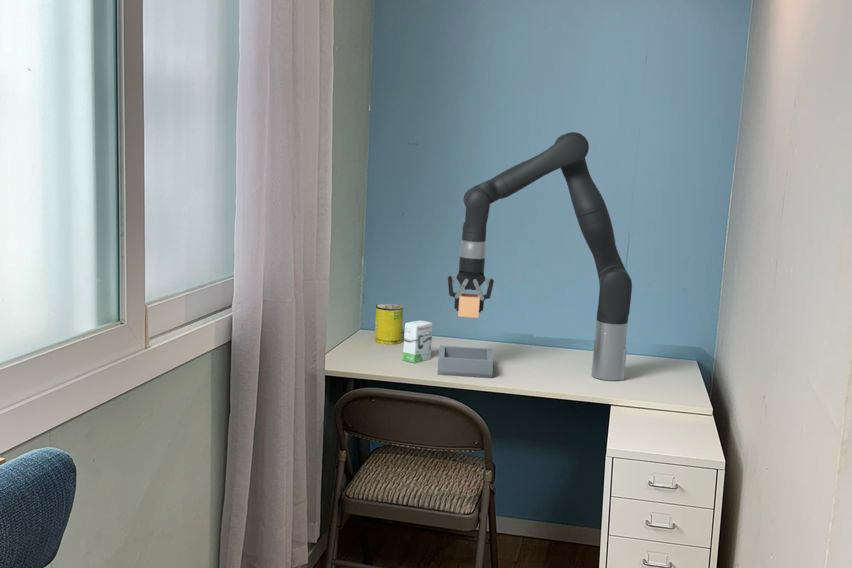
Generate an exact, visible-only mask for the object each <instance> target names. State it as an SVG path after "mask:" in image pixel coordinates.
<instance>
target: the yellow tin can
mask: <svg viewBox="0 0 852 568" xmlns="http://www.w3.org/2000/svg"><path fill="white" fill-rule="evenodd" d="M403 312H404V307H403V305H399V304H396V303H395V304H393V303H380V304H379V303H378V304H376V305H375V323H374V324H375V325H374V342H375V343H377V344H380V345H386V346H387V345H390V346H391V345H393V346H394V345H400V344H401V343H402V336H403V335H402V334H403V333H402V332H403V317H404V316H403V315H404V313H403Z"/></svg>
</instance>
